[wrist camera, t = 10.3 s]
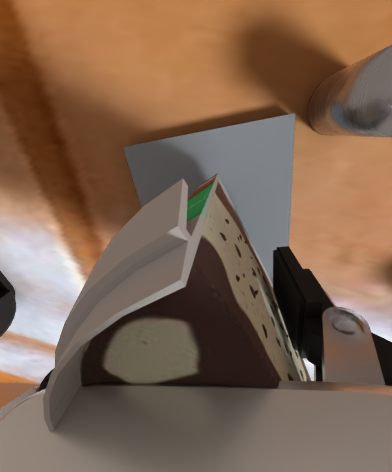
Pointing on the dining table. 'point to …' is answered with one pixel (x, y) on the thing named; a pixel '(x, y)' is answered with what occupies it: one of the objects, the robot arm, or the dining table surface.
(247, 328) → the food container
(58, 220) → the dining table surface
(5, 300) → the end cap
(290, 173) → the pad
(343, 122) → the spacers
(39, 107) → the dining table surface
